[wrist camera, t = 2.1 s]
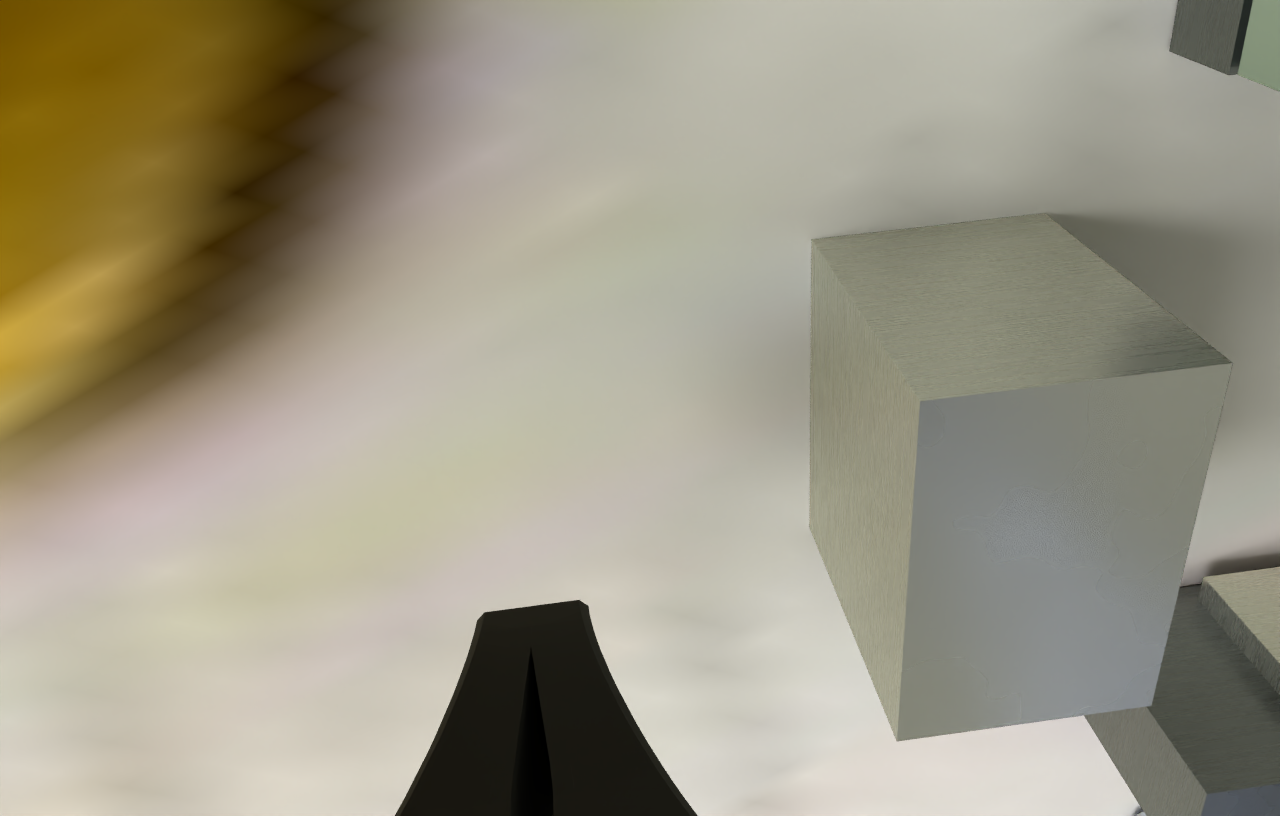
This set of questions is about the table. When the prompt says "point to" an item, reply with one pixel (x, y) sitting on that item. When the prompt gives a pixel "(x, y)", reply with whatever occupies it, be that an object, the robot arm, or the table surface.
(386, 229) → the table surface
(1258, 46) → the block
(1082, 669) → the steel block
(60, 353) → the table surface
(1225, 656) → the vise frame
